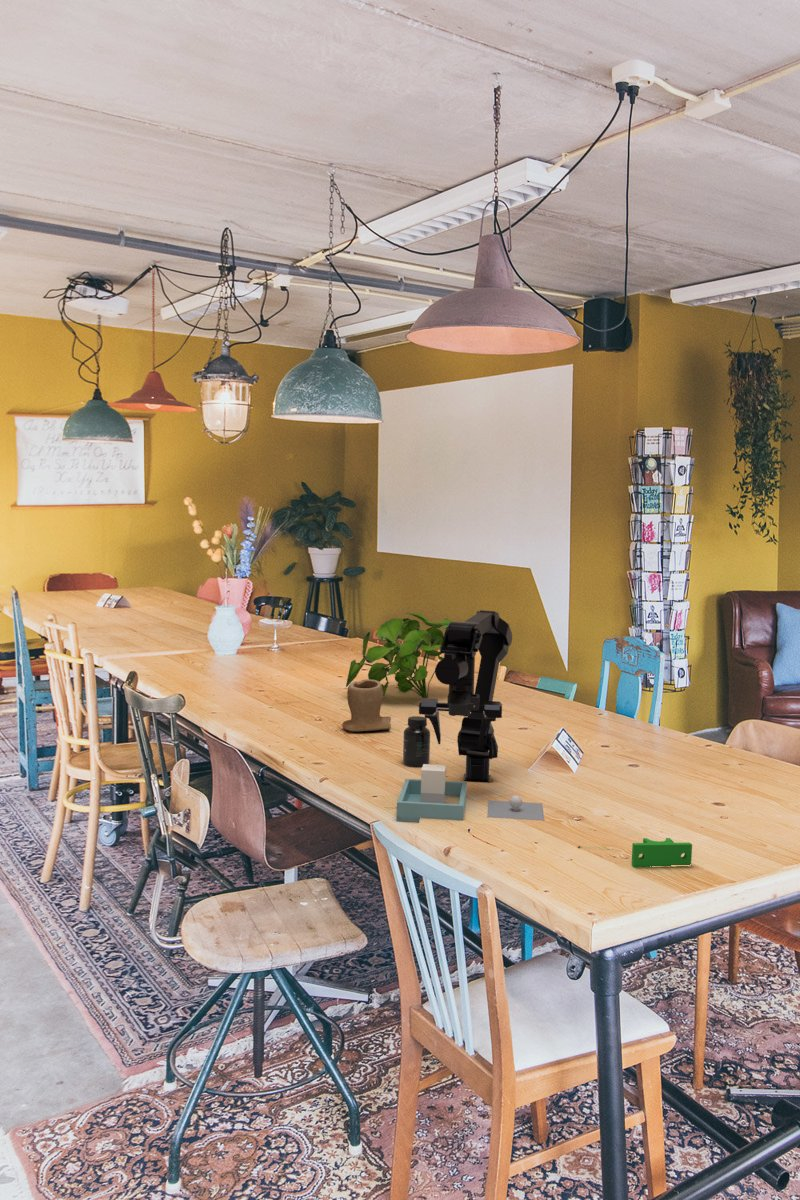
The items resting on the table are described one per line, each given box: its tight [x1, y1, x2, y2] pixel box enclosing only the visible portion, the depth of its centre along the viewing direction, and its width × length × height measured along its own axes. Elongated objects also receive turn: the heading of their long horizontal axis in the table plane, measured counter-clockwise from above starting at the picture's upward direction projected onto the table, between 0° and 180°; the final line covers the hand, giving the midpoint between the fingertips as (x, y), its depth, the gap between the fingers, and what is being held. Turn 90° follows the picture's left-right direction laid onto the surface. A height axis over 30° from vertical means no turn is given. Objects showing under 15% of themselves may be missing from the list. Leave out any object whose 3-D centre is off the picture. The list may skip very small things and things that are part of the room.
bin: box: [395, 778, 468, 823], centre depth 215 cm, size 18×14×4 cm
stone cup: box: [341, 678, 392, 732], centre depth 287 cm, size 15×12×15 cm
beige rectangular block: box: [420, 763, 447, 804], centre depth 214 cm, size 5×5×9 cm
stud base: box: [486, 794, 545, 821], centre depth 213 cm, size 12×12×4 cm
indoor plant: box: [345, 612, 454, 699], centre depth 335 cm, size 44×42×30 cm
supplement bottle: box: [402, 715, 431, 768], centre depth 252 cm, size 7×7×12 cm
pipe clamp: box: [631, 837, 693, 868], centre depth 186 cm, size 11×4×5 cm, turn 95°
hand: (459, 744), depth 224 cm, fingers open, 9 cm apart
